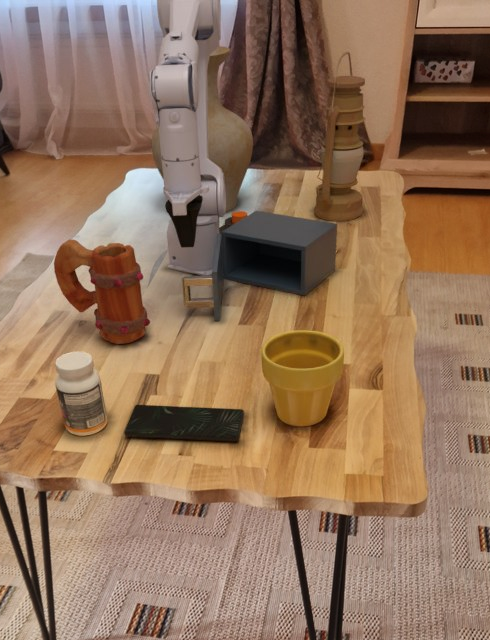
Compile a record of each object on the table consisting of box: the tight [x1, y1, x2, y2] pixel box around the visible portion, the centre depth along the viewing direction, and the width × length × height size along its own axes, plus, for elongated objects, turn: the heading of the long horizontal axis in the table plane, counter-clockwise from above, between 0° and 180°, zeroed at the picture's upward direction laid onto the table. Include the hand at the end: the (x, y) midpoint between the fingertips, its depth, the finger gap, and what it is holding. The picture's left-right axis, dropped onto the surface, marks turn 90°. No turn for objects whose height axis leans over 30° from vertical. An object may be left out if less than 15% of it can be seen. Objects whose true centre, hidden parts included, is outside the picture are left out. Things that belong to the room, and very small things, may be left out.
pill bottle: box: [54, 350, 108, 437], centre depth 95 cm, size 6×6×10 cm
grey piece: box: [181, 234, 225, 321], centre depth 124 cm, size 6×17×8 cm, turn 178°
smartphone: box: [123, 404, 245, 443], centre depth 96 cm, size 7×1×15 cm
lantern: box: [313, 50, 366, 222], centre depth 147 cm, size 15×10×30 cm
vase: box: [151, 45, 254, 213], centre depth 155 cm, size 22×22×30 cm
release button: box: [231, 210, 248, 224], centre depth 147 cm, size 3×3×2 cm
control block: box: [219, 216, 234, 234], centre depth 148 cm, size 9×7×3 cm
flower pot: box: [260, 329, 345, 427], centre depth 94 cm, size 10×10×10 cm
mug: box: [53, 238, 151, 345], centre depth 113 cm, size 15×8×15 cm, turn 71°
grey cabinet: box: [222, 210, 338, 297], centre depth 130 cm, size 12×17×9 cm
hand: (187, 245), depth 118 cm, fingers closed
